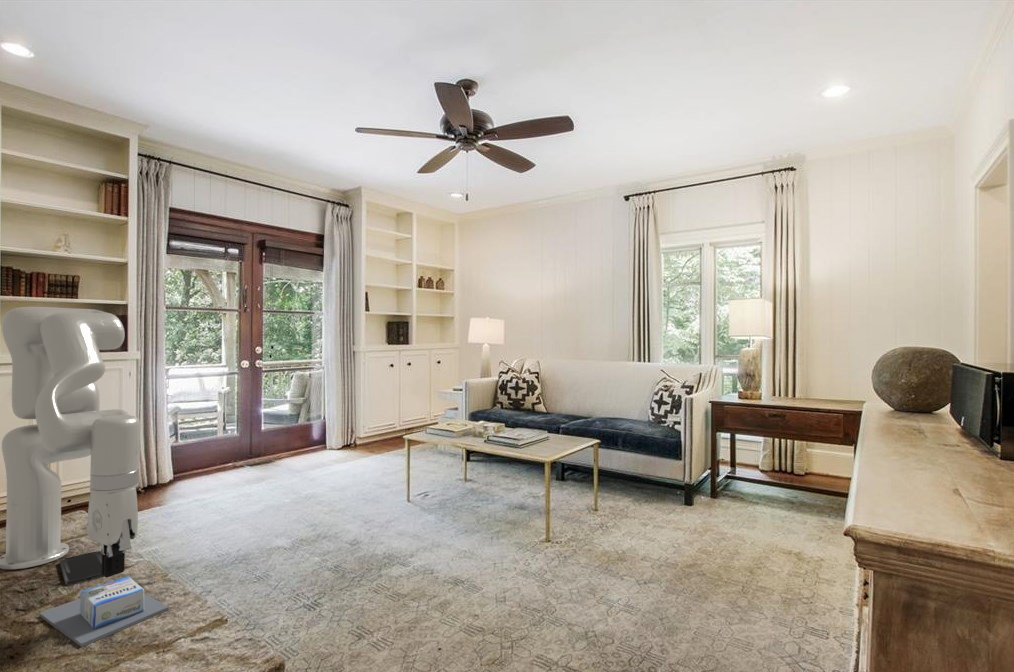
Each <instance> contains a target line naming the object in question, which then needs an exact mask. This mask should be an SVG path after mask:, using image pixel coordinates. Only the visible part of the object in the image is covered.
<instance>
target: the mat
mask: <svg viewBox="0 0 1014 672" xmlns="http://www.w3.org/2000/svg"><path fill="white" fill-rule="evenodd" d="M167 611H169V606H168V605H166V604H164V603H162V602H160V601H159V600H156V599H154V598H153V597H151V596H150V595H147V594H146V593H144V611H142V612H139V613H136V614H133V615H131V616H128V617H125V618H122V619H120V620H117V621H114V622H112V623H109V624H106V625H103V626H101V627H98V628H95V629H94V628H93V627H92V626H91V625H90V624H89V623H88V622H87V621H86V619H85V618H84V617H83V616H82V615H81V614H80V598H77V599H74V600H73V601H69V602H66V603H64V604H61V605H58V606H56V607H51V608H49V609H46V610H44V611H41V612H38V613H39V617H40V618H41V619H43V621H45V622H47V623H48V624H49V625H51V626H52V627H53V628H54V629H56V630H58V631H59V632H60V633H62V634H63V635H64V636H66V637H67V638H69V640H71V641H72V642H74V643H75V644H76V645H78V646H79V647H80V648H83V647H85V646H88V645H90V644H92V643H95V642H97V641H99V640H102V639H104V638H106V637H108V636H111V635H114V634H115V633H118V632H120V631H123V630H125V629H127V628H130V627H132V626H134V624H135V625H137V624H139V623H141V621H142V622H144V621H147V620H149V619H151V618H154V617H155V616H158V615H161V614H162V613H165V612H167Z"/></svg>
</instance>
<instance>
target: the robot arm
mask: <svg viewBox="0 0 1014 672" xmlns="http://www.w3.org/2000/svg"><path fill="white" fill-rule="evenodd" d="M1 332H2V338H3V340H4V343H5V345H6V347H7V349H8V352H9V354H10V358H11V364H12V367H11V368H12V370H11V372H12V373H11V407H12V412H13V414H14V415H15V416H16V417H17V418H18V419H22V420H35V422H36V424H29V425H23V426H19V427H16V428H13V429H11V430H10V431H8V432H7V433H6V434H5V435H4V436H3V438H2V441H1V452H2V457H3V458H2V459H3V461H4V462H3V463H4V467H5V473H6V475H5V476H6V519H5V521H6V522H5V523H6V524H5V527H6V529H5V530H6V531H5V536H6V537H5V541H6V542H5V553H4V554H2V555H1V556H0V569H1V570H19V569H20V570H22V569H27V568H28V569H29V568H33V567H34V568H35V567H37V566H41V565H44V564H48V563H50V562H51V563H52V562H53V561H56V560H59V559H60V558H62V557H64V556H65V555H66V554H67V553H69V551H70V545H69V544H67V543H65V542H61V540H62V539H61V535H62V533H61V531H62V530H61V529H62V480H61V477H60V476H59V474H57V473H56V472H55V471H53V470H52V469H51V468H50V467H49V466H48V465H50V464H54V463H57V462H58V463H59V462H65V461H70V460H76V459H81V458H86V457H90V470H89V471H90V473H89V476H90V478H89V484H90V485H89V491H90V495H89V500H88V507H87V508H88V509H87V520H86V522H87V523H86V534H87V536H88V538H91V539H93V540H94V541H97V542H98V543H100V551H101V553H102V566H101V575H103V576H104V577H105V579H107V578H110V577H113V576H115V575H118V574H121V573H122V574H123V572H124V571H125V558H126V557H125V556H126V551H127V550H129V549H131V540H133V539H135V538H137V535H138V530H139V529H138V528H139V527H138V525H139V513H138V494H137V487H139V485H140V452H141V451H140V450H141V449H140V448H141V447H140V445H141V421H140V419H139V418H138V417H137V416H135V415H131V414H129V413H128V412H127V411H125V410H123V409H115V408H114V409H105V410H100V392H99V388H98V386H97V384H96V382H97V381H99V380H100V379H101V378H103V376H104V375H105V372H106V365H105V363H104V361H103V357H102V354H101V352H100V350H101V351H102V350H103V351H104V350H105V351H107V350H108V351H109V350H110V351H112V350H116V349H119V348H120V347H121V346H122V345H123V343H124V341H125V338H126V336H125V333H126V332H125V328H124V325H123V323H122V321H121V320H120V319H119V317H118V316H117V315H115V314H113V313H110V312H106V311H103V310H98V309H92V308H75V307H74V308H70V307H55V306H54V307H53V306H22V307H14V308H11V309H10V310H8V311H7V312H6V313H5V314H4V316H3V318H2V322H1ZM104 577H103V578H104Z"/></svg>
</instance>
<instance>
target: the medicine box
mask: <svg viewBox="0 0 1014 672" xmlns="http://www.w3.org/2000/svg"><path fill="white" fill-rule="evenodd" d="M144 594H145V589H144V588H143V587H141V585H139V584H138V583H137V582H136V581H135V580H133V579H132V578H131V577H130V576H125V577H122V578H119V579H116V580H113V581H108V582H107V583H103V584H100V585H97V586H93V587H90V588H87V589H84V590H81V591H80V598H79V599H80V614H81V615H82V616H83V617H84V618H85V619H86V621H87V622H88V623H89V624H90V625H91V626H92V627H93V628H94V629H95V628H98V627H101V626H103V625H106V624H109V623H112V622H114V621H117V620H120V619H122V618H125V617H128V616H131V615H133V614H136V613H139V612H142V611H144Z"/></svg>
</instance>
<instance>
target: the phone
mask: <svg viewBox="0 0 1014 672" xmlns="http://www.w3.org/2000/svg"><path fill="white" fill-rule="evenodd" d="M101 566H102V553H101V550H97V551H92V552H87V553H84V554H78V555H74V556H70V557H66V558H62V559H60V560H59V568H60V569H59V570H60V571H61V573H62V576H63V581H64V584H65V585H66V586H73V585H77V584H81V583H84V582H88V581H92V580H96V579H100V578H104V576H103V575H101Z"/></svg>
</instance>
